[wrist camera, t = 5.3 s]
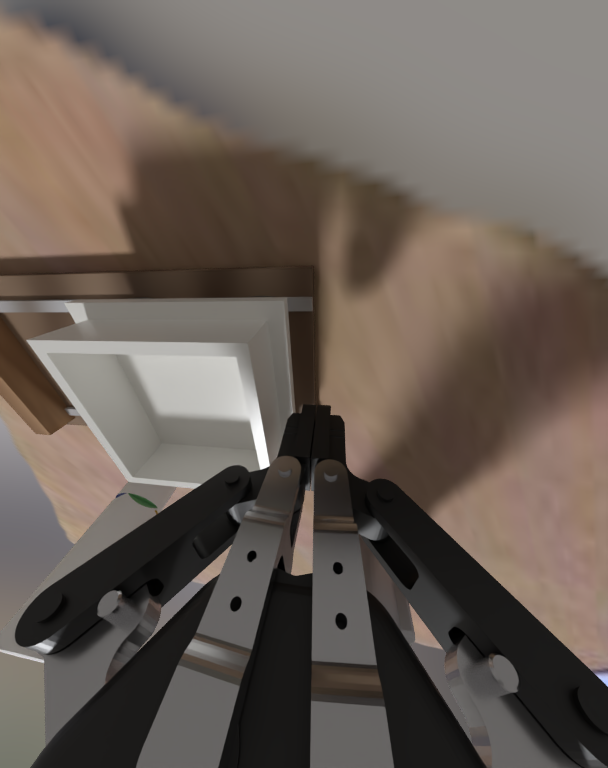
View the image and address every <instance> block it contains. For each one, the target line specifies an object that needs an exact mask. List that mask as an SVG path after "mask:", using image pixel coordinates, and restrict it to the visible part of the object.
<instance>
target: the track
mask: <svg viewBox="0 0 608 768" xmlns="http://www.w3.org/2000/svg"><path fill="white" fill-rule="evenodd" d="M251 296H273V297H287V303H288V317H289V331H290V344H291V358H292V372H293V386H294V399H295V413H301V412H302V407H303V404H310V405H315V336H314V266H292V267H257V268H221V269H186V270H151V271H115V272H80V273H44V274H9V275H0V395H1V396H2V397H3V398H4V399H5V400H6V401H7V403H8V404H9V405H10V406H11V407H12V408H13V409H14V410H15V411H16V412H17V414H18V415H19V416H20V417H21V418H22V419H23V420H24V421H25V422H26V423H27V425H28V426H29V427H30V428H31V429H32V430H33V431H34V432H35V433H36V434H44V435H51V434H53V433H54V432H56V431H57V430H59V429H60V428H62V427H63V426H64V425H66V424H70V425H85V426H88V425H87V424H86V422H85V421H84V420H83V418H82V417H81V415H80V414H79V413H78V411H77V410H76V409H75V407H74V406H73V404H72V403H71V402H70V400H69V399H68V397H67V396H66V395H65V393H64V392H63V391H62V389H61V388H60V386H59V385H58V384H57V382H56V381H55V379H54V378H53V377H52V375H51V374H50V373H49V371H48V370H47V368H46V367H45V366H44V364H43V363H42V362H41V360H40V359H39V357H38V356H37V355H36V353H35V352H34V350H33V349H32V348H31V346H30V345H29V344H28V342H27V341H26V340H28V339H31V338H34V337H37V336H40V335H43V334H46V333H49V332H52V331H55V330H58V329H61V328H64V327H67V326H70V325H73V324H76V323H75V321H74V320H73V318H72V316H71V314H70V313H69V311H68V309H67V307H66V306H65V304H64V303H66V302H70V301H74V300H81V299H128V298H137V297H149V298H152V299H167V298H245V297H251Z"/></svg>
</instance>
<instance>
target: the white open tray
mask: <svg viewBox="0 0 608 768" xmlns="http://www.w3.org/2000/svg"><path fill="white" fill-rule="evenodd" d="M64 304H65V306H66V307H67V309H68V311H69V313H70V314H71V316H72V318H73V320H74V321H75V323H76V324H73V325H70V326H67V327H64V328H61V329H58V330H55V331H52V332H49V333H46V334H43V335H40V336H37V337H34V338H31V339H28V340H26V341H27V342H28V344H29V345H30V346H31V348H32V349H33V350H34V352H35V353H36V355H37V356H38V357H39V359H40V360H41V362H42V363H43V364H44V366H45V367H46V368H47V370H48V371H49V373H50V374H51V375H52V377H53V378H54V379H55V381H56V382H57V384H58V385H59V386H60V388H61V389H62V391H63V392H64V393H65V395H66V396H67V397H68V399H69V400H70V402H71V403H72V404H73V406H74V407H75V409H76V410H77V411H78V413H79V414H80V415H81V417H82V418H83V420H84V421H85V422H86V424H87V425H88V427H89V428H90V429H91V431H92V432H93V433H94V435H95V436H96V438H97V439H98V440H99V442H100V443H101V445H102V446H103V447H104V449H105V450H106V451H107V453H108V454H109V456H110V457H111V458H112V460H113V461H114V462H115V464H116V465H117V467H118V468H119V469H120V471H121V472H122V474H123V475H124V476H125V478H126V479H127V480H128V482H133V483H143V484H153V485H163V486H173V487H184V488H194V489H195V488H197V487H198V486H200V485H201V484H203V483H204V482H206V481H207V480H209V479H210V478H212V477H213V476H215V475H216V474H218V473H219V472H221V471H222V470H224V469H225V468H227V467H230V466H233V465H241V466H244V467H245V468H247V470H248V471H249V472H252V471H257V470H261V469H264V468H267V467H269V466H270V464H271V463H272V462H273V461H274V460H275V459H276V458H277V456H278V452H279V448H280V445H281V441H282V438H283V434H284V430H285V428H286V423H287V419H288V418H289V417H290V416H291V415H292V414H293V413H295V399H294V386H293V372H292V358H291V344H290V331H289V317H288V303H287V297H273V296H251V297H245V298H167V299H152V298H149V297H137V298H128V299H81V300H74V301H70V302H66V303H64Z"/></svg>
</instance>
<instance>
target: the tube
mask: <svg viewBox="0 0 608 768" xmlns="http://www.w3.org/2000/svg"><path fill="white" fill-rule="evenodd" d="M176 488H177V487H173V486H163V485H153V484H143V483H133V482H128V483H127V484H126V485H125V486H124V488H123V489H122V490H121V491H120V492H119V493H118V495H117V496H116V499H114V500H113V501H112V502H111V503H110V504H109V505H108V506H107V508H106V509H105V510H104V511H103V512H102V513H101V515H100V516H99V517H98V518H97V519H96V520H95V522H94V523H93V524H92V525H91V526H90V527H89V529H88V530H87V531H86V532H85V533H84V534H83V536H82V537H81V538H80V539H79V540H78V542H77V543H76V544H75V545H74V546H73V547H72V549H71V550H70V551H69V552H68V553H67V554H66V556H65V557H64V558H63V559H62V560H61V561H60V563H59V564H58V565H57V566H56V567H55V568H54V570H53V571H52V572H51V573H50V574H49V575H48V577H47V578H46V579H45V580H44V581H43V583H42V584H41V585H40V586H39V587H38V588H37V589H36V591H35V592H34V593H33V594H32V595H31V597H30V598H29V599H28V600H27V601H26V602H25V604H24V605H23V606H22V607H21V608H20V609H19V611H18V612H17V613H16V614H15V615H14V616H13V617H12V619H11V620H10V621H9V622H8V623H7V624H6V626H5V627H4V628H3V629H2V630H1V632H0V652H3V653H6V654H10V655H14V656H18V657H22V658H26V659H30V660H34V661H38V662H42V663H44V658H43V656H41V655H40V654H38V653H37V652H36V651H33V650H30V649H27V648H24V647H21V646H19V645H18V644H17V643H16V641H15V630H16V627H17V624H18V622H19V620H20V618H21V616H22V615H23V613H24V612H25V610H26V609H27V607H28V606H29V605H30V604H31V603H32V602H33V600H34V599H35V598H36V597H37V596H38V595H39V594H40V593H42V592H43V591H44V590H45V589H47V588H48V587H49V586H51V585H52V584H54V583H55V582H57V581H58V580H60V579H61V578H63V577H64V576H66V575H67V574H69V573H70V572H72V571H73V570H75V569H76V568H78V567H79V566H81V565H82V564H84V563H85V562H87V561H88V560H90V559H91V558H92V557H94V556H95V555H97V554H98V553H100V552H101V551H103V550H104V549H106V548H107V547H109V546H110V545H112V544H113V543H115V542H116V541H118V540H119V539H121V538H122V537H124V536H125V535H127V534H128V533H130V532H131V531H133V530H134V529H136V528H137V527H139V526H140V525H142V524H143V523H145V522H146V521H148V520H149V519H151V518H152V517H154V516H155V515H157V514H158V513H160V512H161V511H162V509H163V508H164V506H165V505H166V503H167V502H168V500H169V498H170V497H171V495H172V494H173V492H174V491H175V489H176Z"/></svg>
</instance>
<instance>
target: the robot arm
mask: <svg viewBox="0 0 608 768" xmlns="http://www.w3.org/2000/svg"><path fill="white" fill-rule="evenodd" d="M330 411H331V406H329V405H310V404H303V407H302V412H301V413H293V414H292V415H291V416H290V417H289V418H288V419H287V423H286V428H285V430H284V434H283V438H282V441H281V445H280V448H279V452H278V456H277V458H276V459H275V460H274V461H273V462H272V463H271V464H270V466H269V467H267V468H264V469H261V470H257V471H252V472H249V471H248V470H247V468H245V467H244V466H241V465H233V466H230V467H227V468H225V469H224V470H222V471H221V472H219V473H218V474H216V475H215V476H213V477H212V478H210V479H209V480H207V481H206V482H204V483H203V484H201V485H200V486H198V487H197V488H195V489H194V490H192V491H191V492H189V493H188V494H186V495H185V496H184V497H182V498H181V499H179V500H178V501H176V502H175V503H173V504H172V505H170V506H169V507H167V508H166V509H164V510H163V511H161V512H160V513H158V514H157V515H155V516H154V517H152V518H151V519H149V520H148V521H146V522H145V523H143V524H142V525H140V526H139V527H137V528H136V529H134V530H133V531H131V532H130V533H128V534H127V535H125V536H124V537H122V538H121V539H119V540H118V541H116V542H115V543H113V544H112V545H110V546H109V547H107V548H106V549H104V550H103V551H101V552H100V553H98V554H97V555H95V556H94V557H92V558H91V559H90V560H88V561H87V562H85V563H84V564H82V565H81V566H79V567H78V568H76V569H75V570H73V571H72V572H70V573H69V574H67V575H66V576H64V577H63V578H61V579H60V580H58V581H57V582H55V583H54V584H52V585H51V586H49V587H48V588H47V589H45V590H44V591H43V592H42V593H40V594H39V595H38V596H37V597H36V598H35V599H34V600H33V602H32V603H31V604H30V605H29V606H28V607H27V609H26V610H25V612H24V613H23V615H22V616H21V618H20V620H19V622H18V624H17V627H16V630H15V641H16V643H17V644H18V645H19V646H21V647H24V648H27V649H30V650H33V651H36V652H37V653H38V654H40V655H41V656H43V658H44V679H45V680H44V681H45V730H46V731H45V733H46V747H45V748H44V749H43V751H42V752H41V753H40V755H39V756H38V758H37V759H36V761H35V762H34V763H33V765H32V766H31V767H30V768H608V687H607V686H606V685H605V684H604V683H603V682H602V681H601V680H600V679H599V678H598V677H597V676H596V675H595V674H594V673H593V672H592V671H591V670H590V669H589V668H588V667H587V666H586V665H585V664H584V663H583V662H581V661H580V660H579V659H578V658H577V657H576V656H575V655H574V654H573V653H572V652H571V651H570V650H569V649H568V648H567V647H566V646H565V645H564V644H563V643H562V642H561V641H559V640H558V639H557V638H556V637H555V636H554V635H553V634H552V633H551V632H550V631H549V630H548V629H547V628H546V627H545V626H544V625H543V624H542V623H541V622H540V621H539V620H537V619H536V618H535V617H534V616H533V615H532V614H531V613H530V612H529V611H528V610H527V609H526V608H525V607H524V606H523V605H522V604H521V603H520V602H519V601H518V600H516V599H515V598H514V597H513V596H512V595H511V594H510V593H509V592H508V591H507V590H506V589H505V588H504V587H503V586H502V585H501V584H500V583H499V582H498V581H497V580H496V579H494V578H493V577H492V576H491V575H490V574H489V573H488V572H487V571H486V570H485V569H484V568H483V567H482V566H481V565H480V564H479V563H478V562H477V561H476V560H475V559H474V558H472V557H471V556H470V555H469V554H468V553H467V552H466V551H465V550H464V549H463V548H462V547H461V546H460V545H459V544H458V543H457V542H456V541H455V540H454V539H453V538H452V537H450V536H449V535H448V534H447V533H446V532H445V531H444V530H443V529H442V528H441V527H440V526H439V525H438V524H437V523H436V522H435V521H434V520H433V519H432V518H431V517H429V516H428V515H427V514H426V513H425V512H424V511H423V510H422V509H421V508H420V507H419V506H418V505H417V504H416V503H415V502H414V501H413V500H412V499H411V498H410V497H409V496H407V495H406V494H405V493H404V492H403V491H402V490H401V489H400V488H399V487H398V486H397V485H396V484H394V483H393V482H391V481H389V480H386V479H376V480H373V481H371V482H367V481H365V480H362V479H360V478H358V477H356V476H354V475H353V474H352V473H351V472H350V471H349V469H348V467H347V465H346V453H345V425H344V421H343V419H342V418H341V416H337V415H330ZM310 486H311V491H314V521H313V573H310V574H305V575H299V576H294V575H291V570H292V562H293V552H294V547H295V542H296V537H297V532H298V527H299V523H300V518H301V513H302V508H303V502H304V495H305V490H309V491H310ZM231 545H232V546H231ZM229 546H231V549H230V551H229V554H228V556H227V559H226V561H225V563H224V566H223V568H222V571H221V573H220V574H219V575H218V576H216V577H215V578H213V579H212V580H211V581H209V582H208V583H207V584H206V585H205V586H203V588H201V589H200V591H198V592H197V593H196V594H195V595H194V596H193V597H192V599H190V600H189V601H188V602H187V603H186V604H185V605H184V606H183V607H182V608H181V609H180V610H179V611H178V612H177V613H176V614H175V615H174V616H173V617H172V619H170V620H169V621H168V622H167V623H166V624H165V625H164V626H163V627H162V628H161V629H160V630H159V631H158V632H157V633H156V634H155V635H154V636H153V637H152V638H151V639H150V640H149V641H148V642H147V643H146V644H145V645H144V646H143V647H142V648H141V649H140V647H141V646H142V645H143V644H144V643H145V641H147V640H148V638H149V637H150V636H151V635H152V633H153V632H154V630H155V628H156V626H157V623H158V621H159V618H160V614H161V608H162V607H163V606H164V605H165V604H166V603H167V602H168V601H169V600H171V598H173V597H174V596H175V595H176V594H177V593H178V592H179V591H181V590H182V589H183V588H184V587H185V586H186V585H187V584H188V583H189V582H191V581H192V580H193V579H194V578H195V577H196V576H197V575H198V574H199V573H201V572H202V571H203V570H204V569H205V568H206V567H207V566H208V565H209V564H211V563H212V562H213V561H214V560H215V559H216V558H217V557H218V556H219V555H221V554H222V553H223V552H224V551H225V550H226V549H227V548H228V547H229ZM409 603H410V604H411V606H412V607H413V609H414V610H415V611H416V613H417V614H418V615H419V617H420V618H421V619H422V621H423V622H424V623H425V625H426V626H427V627H428V629H429V630H430V631H431V633H432V634H433V636H434V637H435V638H436V640H437V641H438V642H439V644H440V645H441V646H442V648H443V649H444V650H445V652H446V657H445V675H446V678H447V682H448V685H449V688H450V690H451V693H452V695H453V697H454V698H455V700H456V702H457V704H458V706H459V707H460V709H461V711H462V713H463V715H464V717H465V719H466V722H467V725H468V728H469V731H470V735H471V740H472V743H471V742H470V740H469V738H468V737H467V735H466V734H465V732H464V730H463V729H462V727H461V726H460V724H459V723H458V721H457V720H456V718H455V716H454V715H453V713H452V711H451V710H450V708H449V707H448V705H447V704H446V702H445V700H444V699H443V697H442V696H441V694H440V693H439V691H438V689H437V688H436V686H435V685H434V683H433V681H432V680H431V678H430V677H429V675H428V673H427V672H426V670H425V669H424V667H423V666H422V664H421V662H420V661H419V659H418V658H417V656H416V654H415V653H414V651H413V650H412V648H411V645H412V644H413V643H414V641H415V632H414V627H413V622H412V617H411V612H410V607H409ZM139 649H140V650H139ZM138 650H139V651H138Z"/></svg>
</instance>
